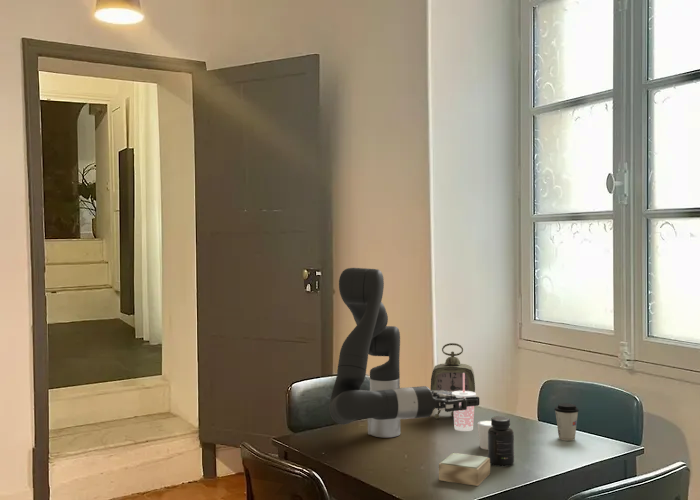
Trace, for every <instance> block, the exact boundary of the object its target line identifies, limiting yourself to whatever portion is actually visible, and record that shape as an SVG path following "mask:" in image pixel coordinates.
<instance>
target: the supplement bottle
mask: <svg viewBox="0 0 700 500" xmlns="http://www.w3.org/2000/svg"><path fill="white" fill-rule="evenodd" d="M510 420H511V419H510V418H509V417H508V416H503V415H501V416H500V415H495V416H493V417H491V425H492V427H491V428H490V429H489V430H488V450H487V457H488V458H490V465H493V466H495V467H510V466H512V465H513V464H514V463H515V434H514V432H515V431H514V430H513V429H512V428H511V427H510V426H511V421H510Z"/></svg>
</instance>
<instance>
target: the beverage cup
mask: <svg viewBox="0 0 700 500" xmlns="http://www.w3.org/2000/svg"><path fill="white" fill-rule="evenodd" d="M451 394H452V395H456V397H474V396H477V393H476V391H475V392H471V391H465V373H463V391H454V392H452V393H451ZM459 405H461V402H460V403H459ZM452 412H454V416H453V425H454V430H455V431H458V432H471V431H473V430H474V420H475V418H474V417H475V406H468V407H467V409H466V410H459V411H452Z"/></svg>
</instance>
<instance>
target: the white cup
mask: <svg viewBox="0 0 700 500" xmlns="http://www.w3.org/2000/svg"><path fill="white" fill-rule="evenodd" d="M491 427H492V425H491V420H490V419H489V420H487V419H486V420H480V421H478V422H477V430H478V440H479V447H480V449H483V450H487V451H488V430H489V429H490V428H491Z"/></svg>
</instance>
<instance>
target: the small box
mask: <svg viewBox="0 0 700 500" xmlns="http://www.w3.org/2000/svg"><path fill="white" fill-rule="evenodd" d="M489 475H491V464H490V458H488V456H482V455H473V454H466V453H458V452H453V453H451V454H449V456H447V457H446V458H445V459H443V460H442V461H440V462H439V463H438V480H439V481H442V482H443V481H444V482H449V483H454V484H462V485H470V486H477V487H478V486H480V485H481V484H482V482H484V481H485V480H486V479H487V478H488V477H489Z"/></svg>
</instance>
